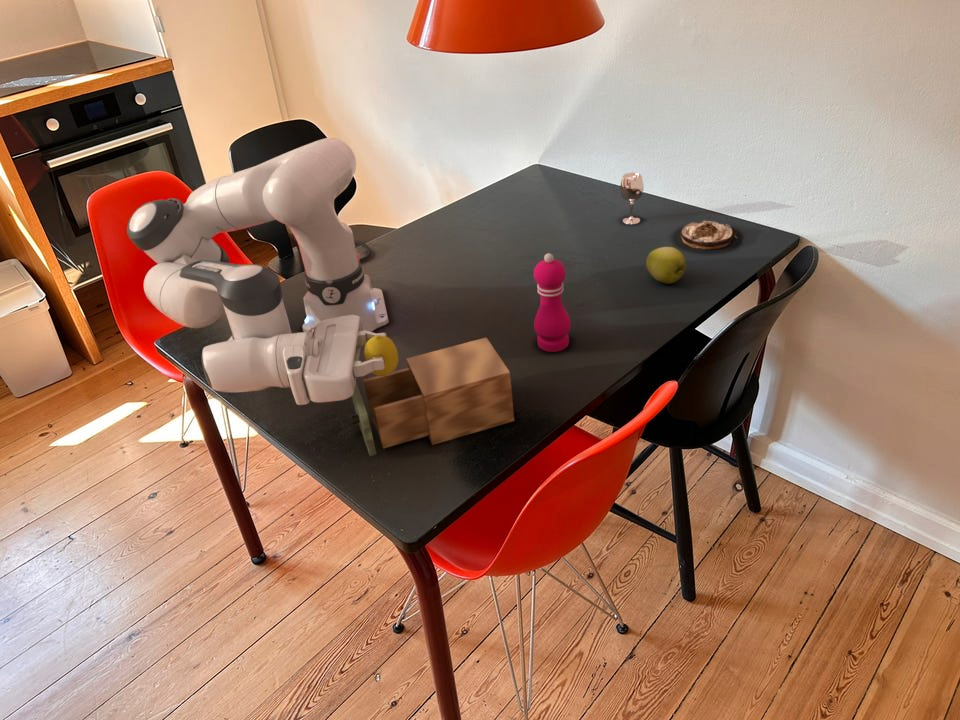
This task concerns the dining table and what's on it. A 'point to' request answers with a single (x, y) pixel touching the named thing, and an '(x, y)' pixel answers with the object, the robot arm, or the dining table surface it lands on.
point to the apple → (666, 264)
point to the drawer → (391, 409)
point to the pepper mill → (551, 306)
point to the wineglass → (631, 192)
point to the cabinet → (463, 389)
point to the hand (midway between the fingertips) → (385, 350)
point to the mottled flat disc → (707, 235)
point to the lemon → (382, 353)
